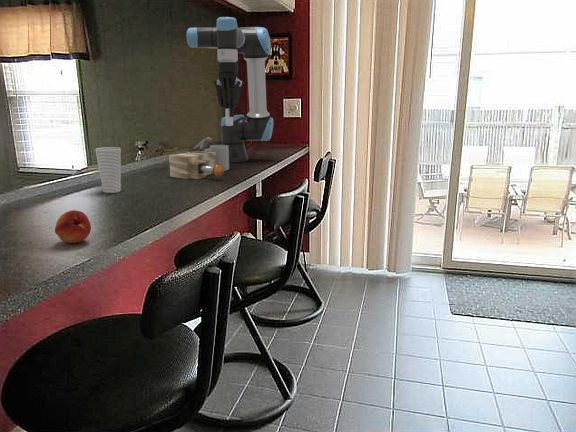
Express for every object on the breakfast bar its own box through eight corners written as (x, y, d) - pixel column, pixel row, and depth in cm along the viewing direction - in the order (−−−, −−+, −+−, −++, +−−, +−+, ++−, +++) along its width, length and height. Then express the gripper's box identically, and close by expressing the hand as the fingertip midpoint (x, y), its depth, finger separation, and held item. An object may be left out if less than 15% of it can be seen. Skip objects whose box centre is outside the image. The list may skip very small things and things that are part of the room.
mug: (231, 168, 219) (230, 145, 216) (225, 171, 211) (225, 147, 208) (207, 167, 221) (206, 144, 219) (200, 170, 213) (199, 146, 210)
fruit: (56, 250, 107) (52, 216, 105) (56, 240, 114) (52, 208, 112) (93, 245, 110) (89, 212, 108) (91, 236, 117) (87, 205, 115)
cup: (100, 194, 163) (95, 150, 159) (98, 190, 171) (94, 147, 167) (125, 192, 167) (122, 149, 163) (123, 188, 174) (119, 146, 170)
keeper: (199, 151, 209) (197, 148, 209) (213, 139, 202) (212, 135, 203) (192, 152, 205) (190, 149, 205) (206, 140, 199) (204, 136, 199)
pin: (194, 171, 200) (193, 160, 199) (224, 175, 191) (224, 164, 190) (186, 173, 196) (185, 162, 195) (216, 177, 187) (216, 165, 186)
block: (199, 170, 213) (198, 146, 210) (222, 173, 206) (221, 149, 203) (170, 176, 198) (168, 151, 195) (193, 179, 191) (192, 153, 188)
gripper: (207, 61, 175) (210, 125, 181) (235, 60, 168) (236, 126, 175) (220, 62, 181) (222, 124, 188) (247, 61, 175) (248, 125, 181)
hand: (229, 125), depth 181 cm, fingers closed
